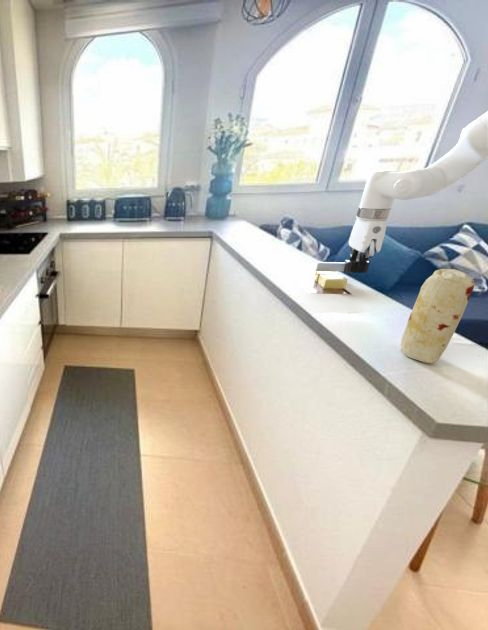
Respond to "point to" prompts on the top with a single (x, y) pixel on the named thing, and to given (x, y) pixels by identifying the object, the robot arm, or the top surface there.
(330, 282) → the butter block
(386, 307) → the top surface
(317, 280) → the butter slice
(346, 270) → the knife
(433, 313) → the food model
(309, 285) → the board
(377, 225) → the robot arm
